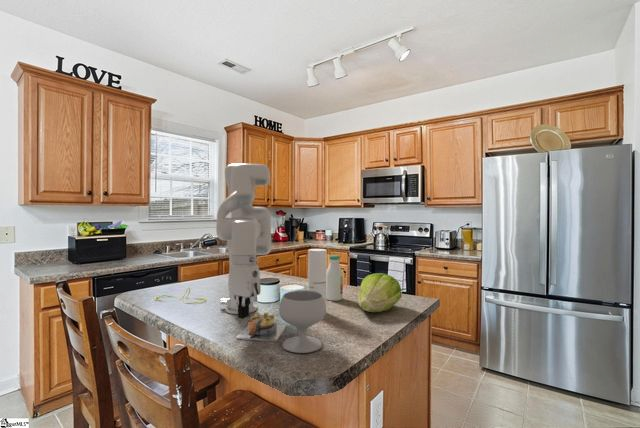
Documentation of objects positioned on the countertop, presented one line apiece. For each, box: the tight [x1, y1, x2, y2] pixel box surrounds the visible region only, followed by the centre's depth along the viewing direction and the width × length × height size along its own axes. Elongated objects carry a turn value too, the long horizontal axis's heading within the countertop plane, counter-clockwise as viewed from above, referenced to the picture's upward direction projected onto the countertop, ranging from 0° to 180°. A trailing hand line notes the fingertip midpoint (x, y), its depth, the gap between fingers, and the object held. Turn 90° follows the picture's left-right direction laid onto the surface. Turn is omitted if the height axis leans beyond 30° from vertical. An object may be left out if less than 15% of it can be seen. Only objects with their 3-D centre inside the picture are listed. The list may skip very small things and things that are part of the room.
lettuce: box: [357, 272, 402, 313], centre depth 130 cm, size 17×24×14 cm
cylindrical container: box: [307, 248, 328, 305], centre depth 127 cm, size 7×7×25 cm
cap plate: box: [235, 322, 287, 343], centre depth 106 cm, size 13×13×2 cm
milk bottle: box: [326, 254, 344, 302], centre depth 148 cm, size 8×8×20 cm
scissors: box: [154, 287, 208, 304], centre depth 146 cm, size 25×10×5 cm, turn 75°
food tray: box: [247, 312, 275, 336], centre depth 103 cm, size 14×8×4 cm, turn 168°
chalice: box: [278, 290, 327, 354], centre depth 96 cm, size 14×14×15 cm
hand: (243, 317), depth 101 cm, fingers closed
